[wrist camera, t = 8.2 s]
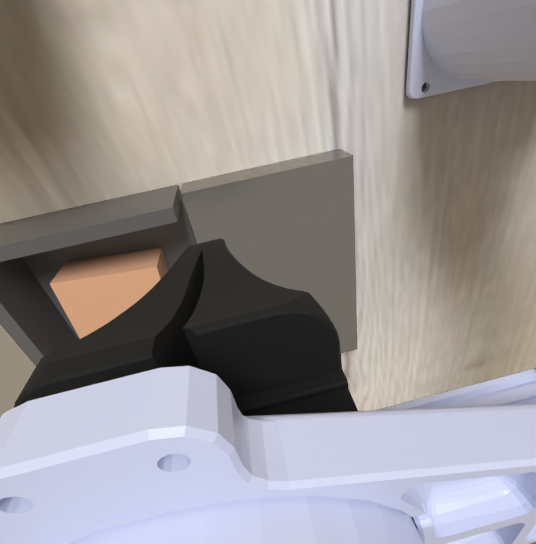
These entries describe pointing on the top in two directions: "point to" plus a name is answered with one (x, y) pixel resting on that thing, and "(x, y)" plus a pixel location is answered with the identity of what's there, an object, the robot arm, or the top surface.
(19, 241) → the box
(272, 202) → the grey flat board
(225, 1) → the top surface
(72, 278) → the tile
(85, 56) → the top surface
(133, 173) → the top surface
